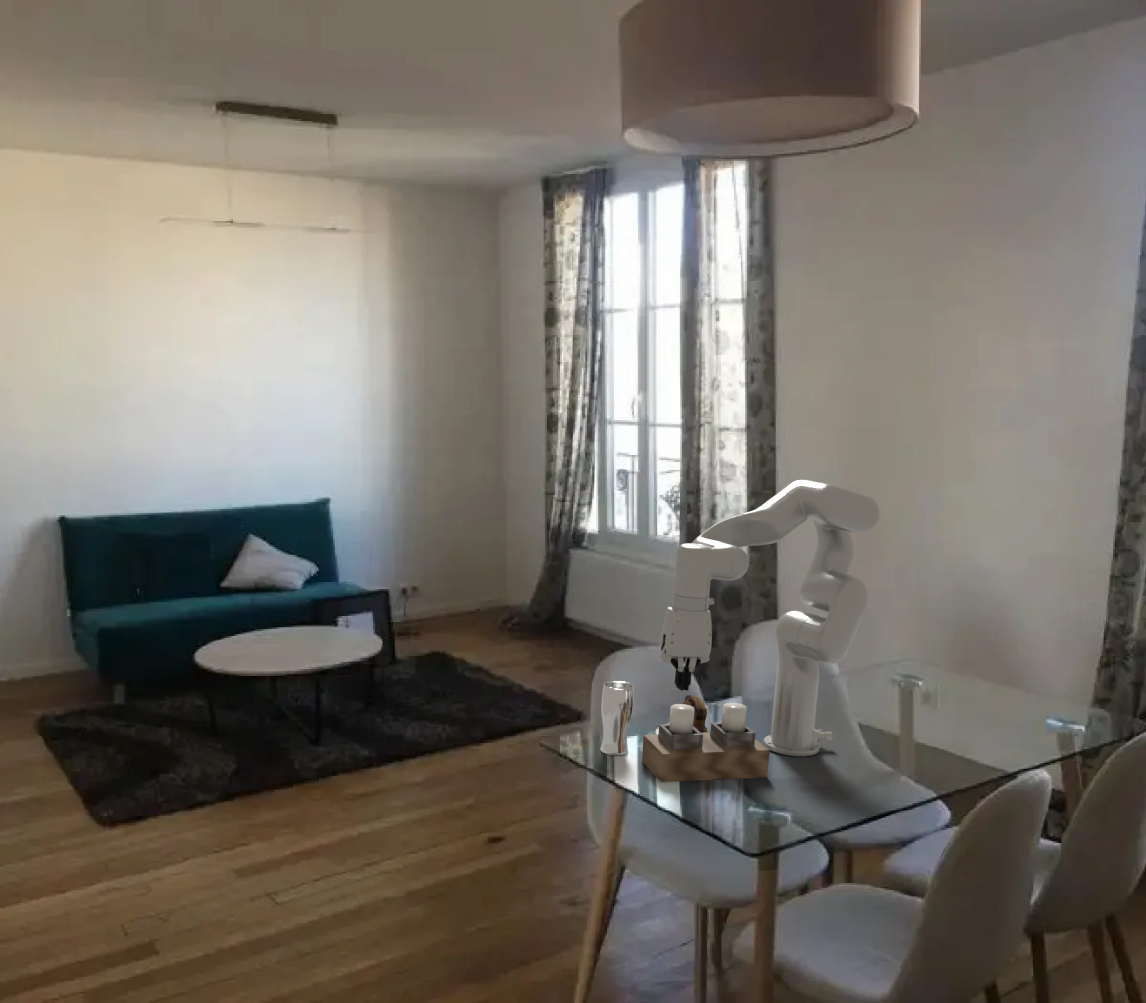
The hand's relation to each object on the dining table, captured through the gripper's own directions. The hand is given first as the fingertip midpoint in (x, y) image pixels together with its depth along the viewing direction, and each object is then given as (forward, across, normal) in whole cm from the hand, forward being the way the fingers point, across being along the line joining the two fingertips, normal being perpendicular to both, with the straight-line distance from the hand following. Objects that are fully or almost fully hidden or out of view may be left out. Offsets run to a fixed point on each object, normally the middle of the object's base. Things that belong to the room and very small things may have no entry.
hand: (682, 688), depth 249 cm
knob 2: (+9, -13, 0) cm, 16 cm away
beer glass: (+18, +9, -13) cm, 24 cm away
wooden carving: (+18, -11, -19) cm, 28 cm away
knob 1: (+9, -1, 0) cm, 9 cm away
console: (+18, -7, 0) cm, 19 cm away
